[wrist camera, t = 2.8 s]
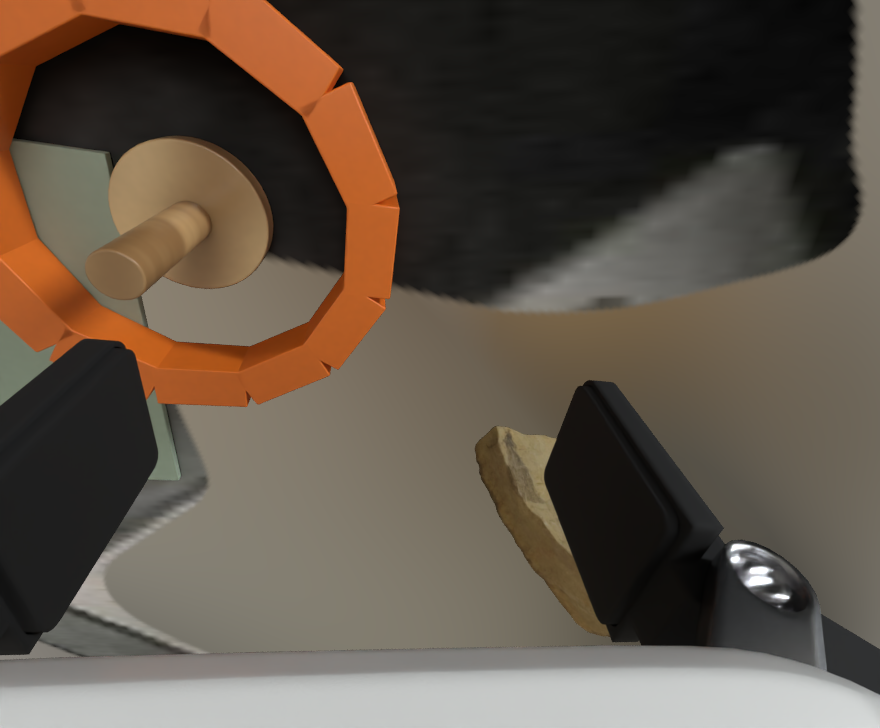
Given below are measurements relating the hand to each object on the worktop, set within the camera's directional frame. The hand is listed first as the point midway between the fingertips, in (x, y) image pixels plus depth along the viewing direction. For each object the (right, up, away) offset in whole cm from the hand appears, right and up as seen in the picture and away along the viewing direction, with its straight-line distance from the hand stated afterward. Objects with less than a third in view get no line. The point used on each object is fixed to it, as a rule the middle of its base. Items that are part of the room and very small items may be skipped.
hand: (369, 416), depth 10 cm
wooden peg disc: (-9, +7, +9) cm, 15 cm away
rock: (+9, -5, +19) cm, 22 cm away
